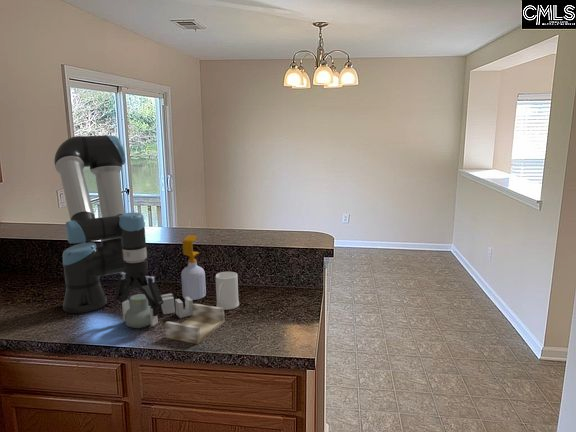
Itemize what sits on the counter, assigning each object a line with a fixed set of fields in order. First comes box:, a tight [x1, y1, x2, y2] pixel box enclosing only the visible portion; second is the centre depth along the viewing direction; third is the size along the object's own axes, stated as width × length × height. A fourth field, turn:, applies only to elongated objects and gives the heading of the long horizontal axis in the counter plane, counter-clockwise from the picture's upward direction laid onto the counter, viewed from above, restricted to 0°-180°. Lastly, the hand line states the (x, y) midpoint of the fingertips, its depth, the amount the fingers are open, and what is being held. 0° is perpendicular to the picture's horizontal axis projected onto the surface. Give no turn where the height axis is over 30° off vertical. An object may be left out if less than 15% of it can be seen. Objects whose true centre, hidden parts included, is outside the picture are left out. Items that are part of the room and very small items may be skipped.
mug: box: [215, 271, 240, 311], centre depth 161 cm, size 12×8×12 cm
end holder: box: [164, 302, 226, 345], centre depth 144 cm, size 12×17×5 cm
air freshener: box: [125, 293, 151, 329], centre depth 147 cm, size 11×8×10 cm
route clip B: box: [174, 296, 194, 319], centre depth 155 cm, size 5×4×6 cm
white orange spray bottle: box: [180, 234, 207, 301], centre depth 170 cm, size 9×9×25 cm
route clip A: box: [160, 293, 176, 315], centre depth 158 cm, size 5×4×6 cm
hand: (140, 321), depth 148 cm, fingers closed on air freshener, 11 cm apart
